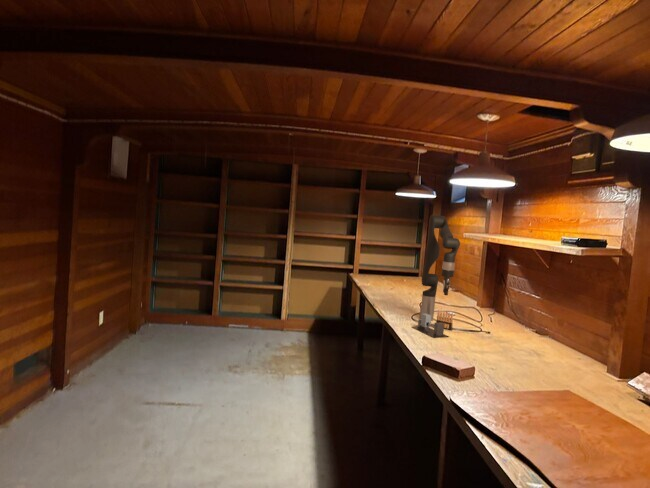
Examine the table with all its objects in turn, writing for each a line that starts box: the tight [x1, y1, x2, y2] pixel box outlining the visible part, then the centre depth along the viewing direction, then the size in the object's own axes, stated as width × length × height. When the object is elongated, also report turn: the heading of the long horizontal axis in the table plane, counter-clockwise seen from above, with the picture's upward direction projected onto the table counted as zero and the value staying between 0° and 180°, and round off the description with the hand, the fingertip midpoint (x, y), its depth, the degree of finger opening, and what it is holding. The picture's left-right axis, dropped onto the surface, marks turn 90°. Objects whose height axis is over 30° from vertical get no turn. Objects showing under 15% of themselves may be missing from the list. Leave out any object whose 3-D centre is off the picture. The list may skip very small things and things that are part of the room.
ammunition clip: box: [435, 309, 454, 332], centre depth 266 cm, size 11×2×12 cm, turn 58°
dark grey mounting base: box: [411, 319, 450, 339], centre depth 255 cm, size 23×12×8 cm, turn 23°
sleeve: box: [420, 314, 432, 328], centre depth 259 cm, size 5×4×8 cm
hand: (445, 293), depth 258 cm, fingers open, 8 cm apart
